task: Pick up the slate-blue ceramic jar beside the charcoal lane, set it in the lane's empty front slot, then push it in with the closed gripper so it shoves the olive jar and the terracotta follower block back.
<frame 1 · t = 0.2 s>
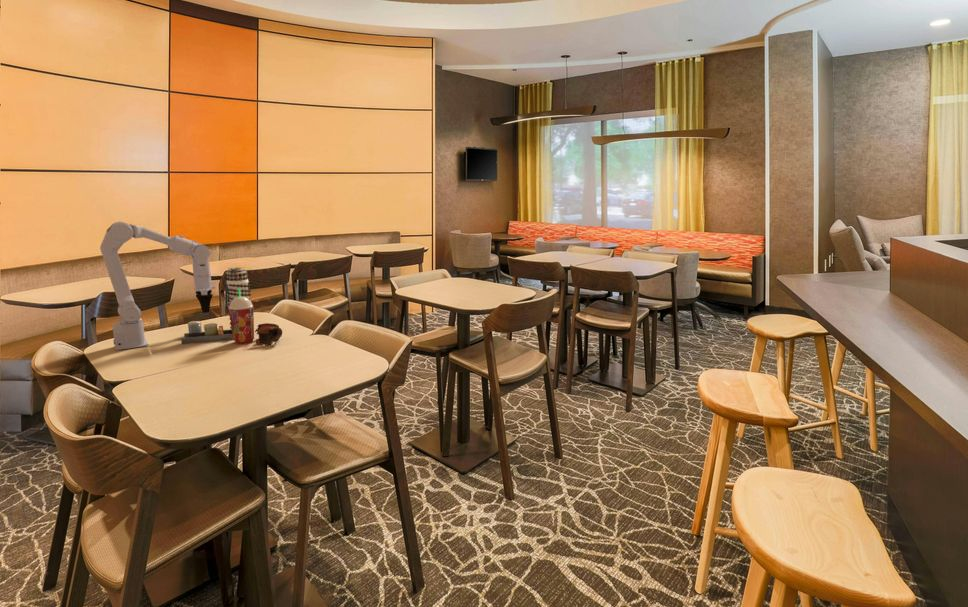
hand: (205, 310, 206), 10 cm above the table, fingers open, 7 cm apart
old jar: (212, 338, 201), resting on lane
black white checkered cylinder: (242, 330, 215), on the table
follower: (220, 332, 202), point 2 cm above the table, slide at 0.0 cm
lane: (210, 339, 201), on the table
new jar: (195, 335, 207), on the table
smoothie: (244, 343, 196), on the table
pottery mug: (270, 343, 197), on the table
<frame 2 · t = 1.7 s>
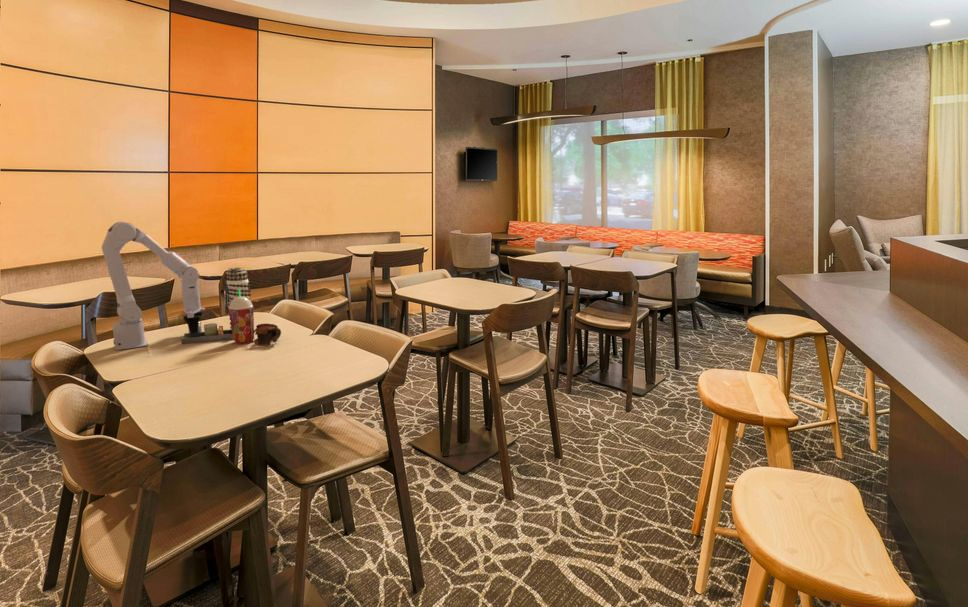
hand: (195, 332, 206), 1 cm above the table, fingers closed on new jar, 4 cm apart
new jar: (195, 335, 207), on the table, touching gripper
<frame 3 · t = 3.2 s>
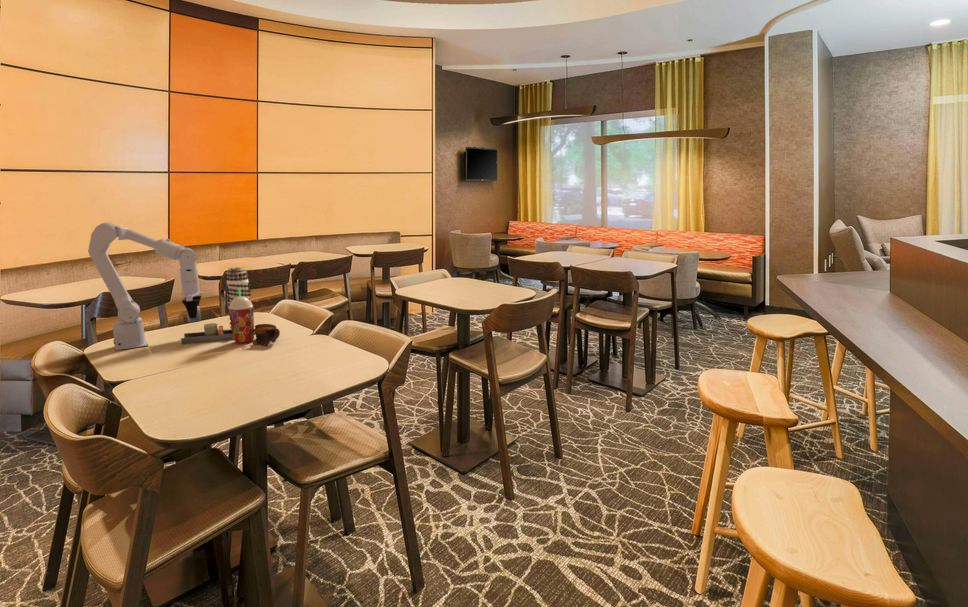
hand: (193, 316, 202), 8 cm above the table, fingers closed on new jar, 4 cm apart
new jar: (194, 320, 202), point 7 cm above the table, touching gripper
when the fingers open (3 cm above the table, at t = 4.9 s): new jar drops 1 cm, resting on lane.
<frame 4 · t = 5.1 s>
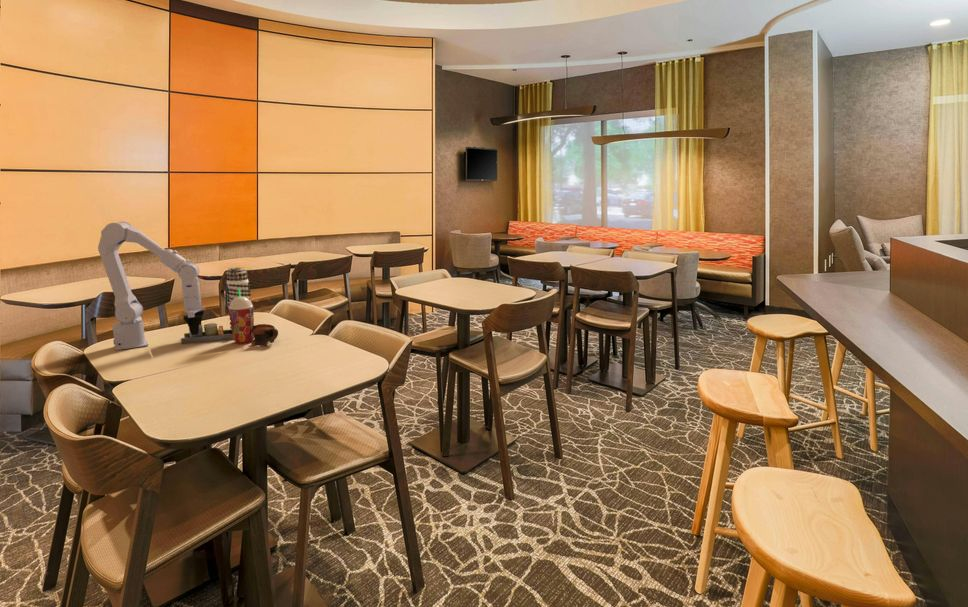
hand: (196, 332, 198), 3 cm above the table, fingers open, 6 cm apart
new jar: (197, 339, 199), resting on lane
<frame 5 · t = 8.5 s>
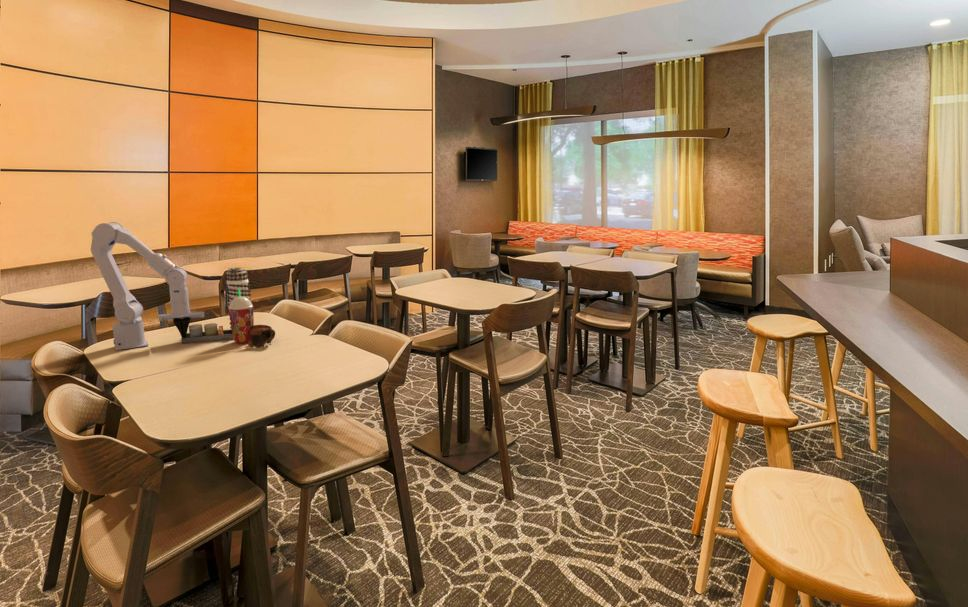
hand: (184, 337, 197), 2 cm above the table, fingers closed
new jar: (197, 339, 199), resting on lane, touching gripper
pottery mug: (263, 344, 195), on the table
everything else where it was.
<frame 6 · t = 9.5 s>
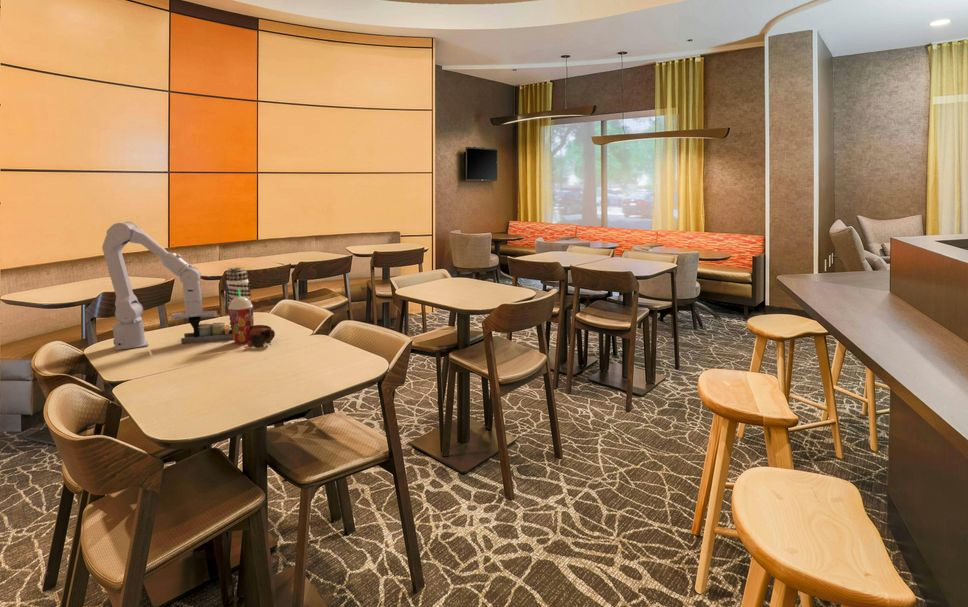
hand: (197, 336, 199), 2 cm above the table, fingers closed, pressing on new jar
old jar: (218, 337, 202), point 1 cm above the table, touching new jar
follower: (227, 331, 202), point 2 cm above the table, slide at 2.2 cm
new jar: (205, 339, 200), resting on lane, touching gripper, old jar
everything else where it was.
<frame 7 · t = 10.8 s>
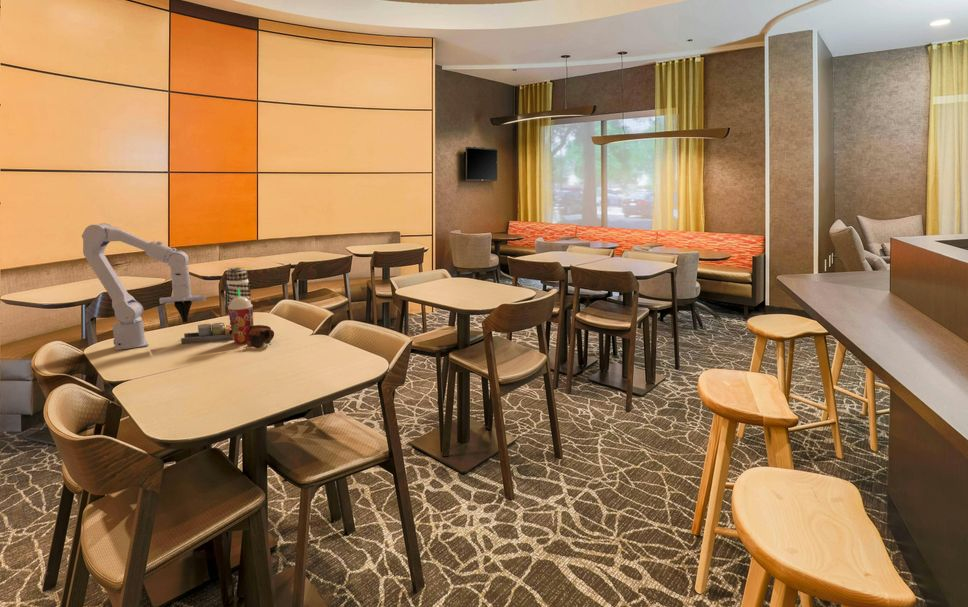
hand: (185, 321, 197), 8 cm above the table, fingers closed
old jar: (219, 338, 202), resting on lane
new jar: (206, 339, 200), resting on lane
everything else where it was.
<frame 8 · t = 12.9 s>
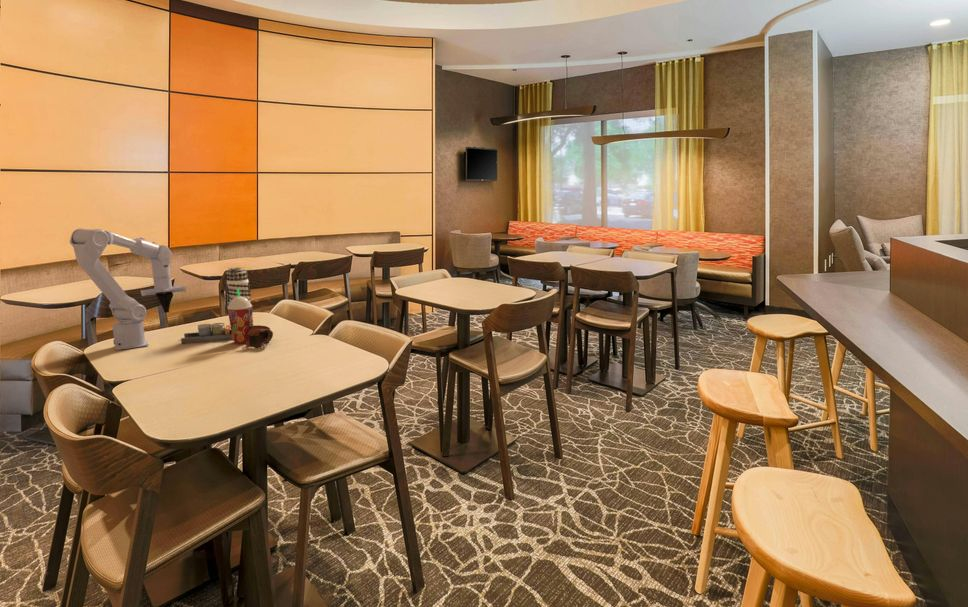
hand: (166, 312, 205), 9 cm above the table, fingers closed
at the end: follower slide at 2.4 cm; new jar inside the target area on the lane (0.4 cm from its centre), point 0.4 cm above the lane's base; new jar tilted 1° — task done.
